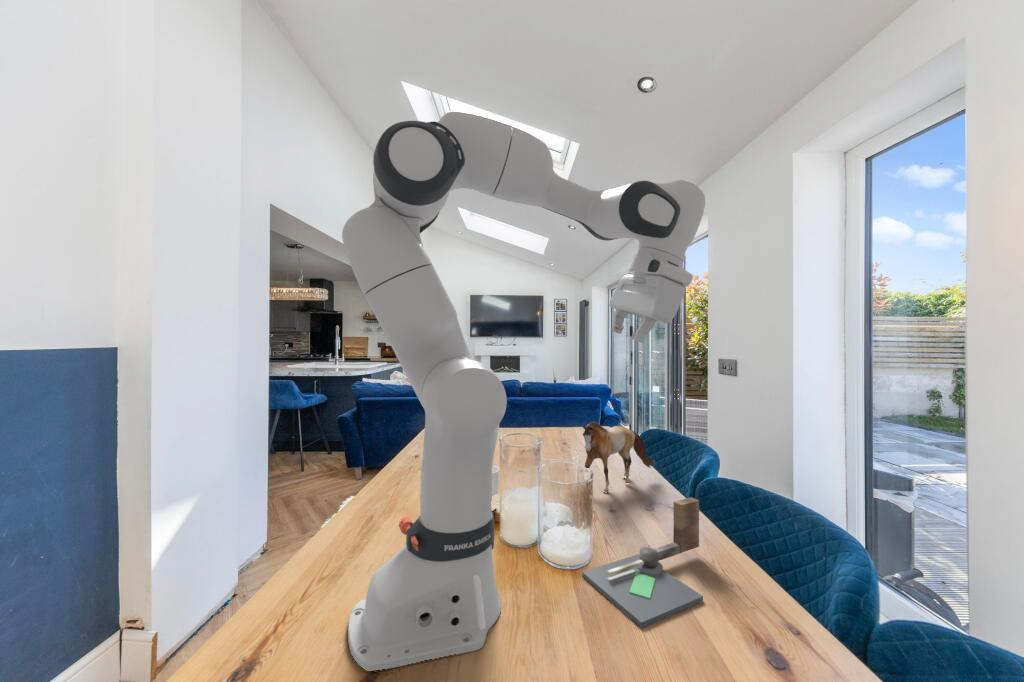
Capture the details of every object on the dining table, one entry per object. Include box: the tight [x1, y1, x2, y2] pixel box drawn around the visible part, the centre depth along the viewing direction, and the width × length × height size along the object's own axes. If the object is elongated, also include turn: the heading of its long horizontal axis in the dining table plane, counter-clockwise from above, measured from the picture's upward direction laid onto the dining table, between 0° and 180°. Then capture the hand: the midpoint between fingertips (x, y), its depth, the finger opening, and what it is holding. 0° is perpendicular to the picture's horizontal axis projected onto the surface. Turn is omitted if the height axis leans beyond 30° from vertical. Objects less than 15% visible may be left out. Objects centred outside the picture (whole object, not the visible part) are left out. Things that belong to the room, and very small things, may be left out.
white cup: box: [491, 464, 500, 501], centre depth 97 cm, size 8×8×10 cm
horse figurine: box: [582, 421, 656, 493], centre depth 113 cm, size 31×8×21 cm, turn 127°
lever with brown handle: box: [607, 496, 700, 576], centre depth 71 cm, size 22×3×10 cm, turn 117°
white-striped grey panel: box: [581, 553, 704, 629], centre depth 66 cm, size 14×14×1 cm
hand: (625, 336), depth 76 cm, fingers open, 8 cm apart
